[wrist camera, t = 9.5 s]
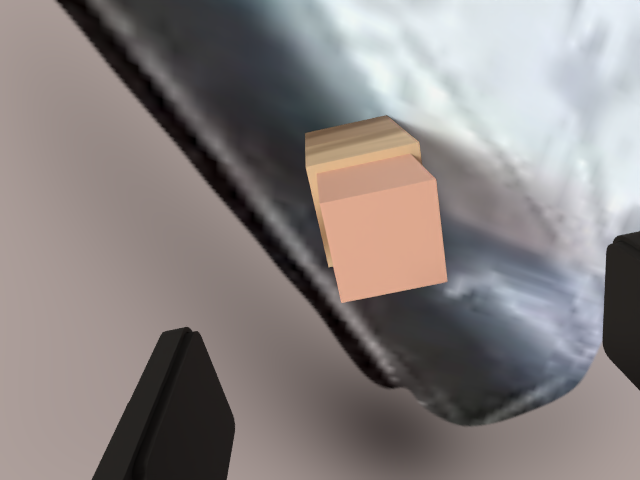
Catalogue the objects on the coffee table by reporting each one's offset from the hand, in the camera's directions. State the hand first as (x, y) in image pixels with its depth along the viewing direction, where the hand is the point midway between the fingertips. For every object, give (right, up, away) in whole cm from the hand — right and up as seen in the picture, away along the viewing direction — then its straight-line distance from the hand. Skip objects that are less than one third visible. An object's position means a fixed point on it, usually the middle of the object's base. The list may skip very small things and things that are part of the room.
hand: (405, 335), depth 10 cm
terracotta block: (+1, +4, +14) cm, 15 cm away
